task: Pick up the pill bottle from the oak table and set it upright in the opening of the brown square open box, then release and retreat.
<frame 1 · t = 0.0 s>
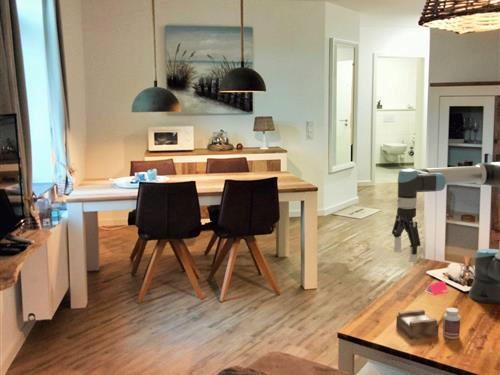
hand: (405, 256, 225), 28 cm above the table, fingers open, 13 cm apart
pill bottle: (450, 336, 214), on the table
brown square open box: (416, 331, 219), on the table
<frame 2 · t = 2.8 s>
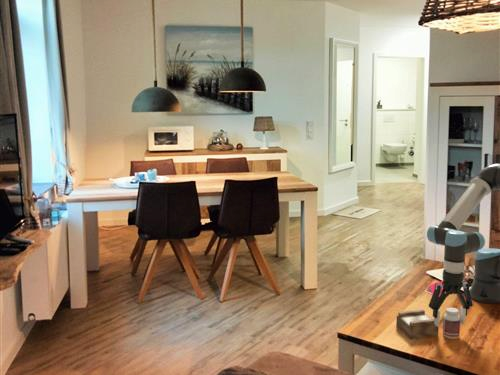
hand: (449, 324, 213), 5 cm above the table, fingers open, 10 cm apart
nothing on the table moved.
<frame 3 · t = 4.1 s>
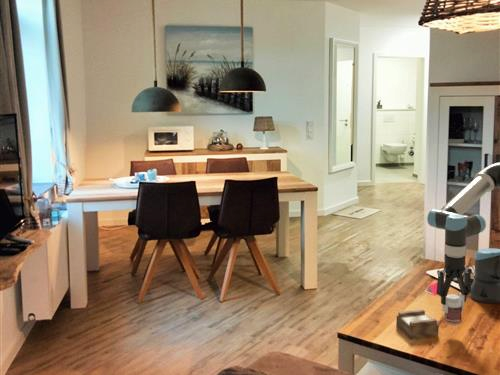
hand: (453, 310, 213), 11 cm above the table, fingers closed on pill bottle, 6 cm apart
pill bottle: (453, 322, 214), point 5 cm above the table, touching gripper
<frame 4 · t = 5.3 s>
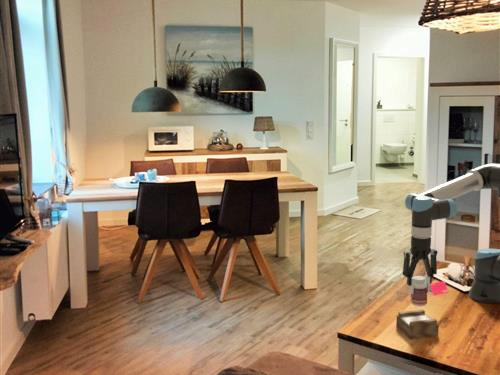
hand: (418, 291, 216), 17 cm above the table, fingers closed on pill bottle, 6 cm apart
pill bottle: (419, 304, 217), point 12 cm above the table, touching gripper
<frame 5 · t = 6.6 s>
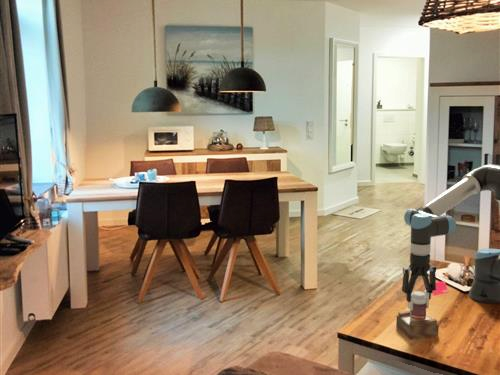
hand: (418, 307, 217), 10 cm above the table, fingers closed on pill bottle, 6 cm apart
pill bottle: (417, 319, 218), point 5 cm above the table, touching brown square open box, gripper
when the fingers open (10 cm above the table, at t = 7.3 s): pill bottle stays where it is, resting on brown square open box.
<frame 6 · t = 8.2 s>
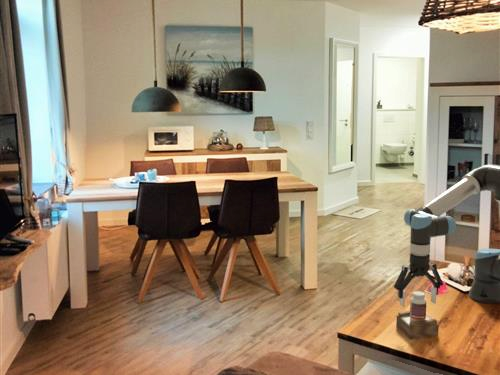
hand: (417, 304, 217), 12 cm above the table, fingers open, 13 cm apart
pill bottle: (417, 319, 218), point 5 cm above the table, touching brown square open box
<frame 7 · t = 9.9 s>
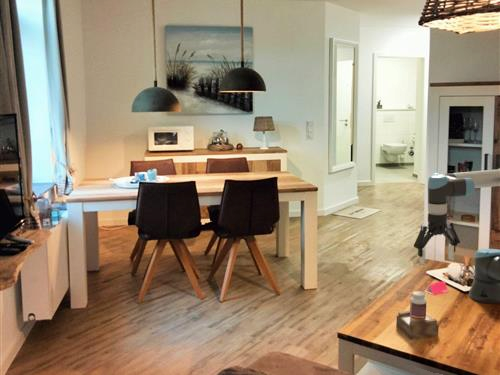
hand: (436, 261, 227), 25 cm above the table, fingers open, 13 cm apart
nothing on the table moved.
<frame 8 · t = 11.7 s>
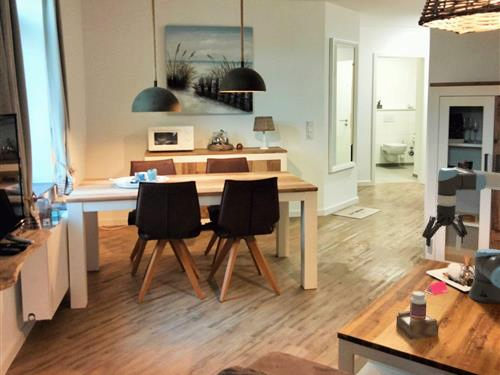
hand: (444, 252, 235), 27 cm above the table, fingers open, 13 cm apart
nothing on the table moved.
at the end: pill bottle 0.2 cm off-centre on the brown square open box, point 5.0 cm above the brown square open box's base; pill bottle tilted 0°; the gripper is holding nothing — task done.
